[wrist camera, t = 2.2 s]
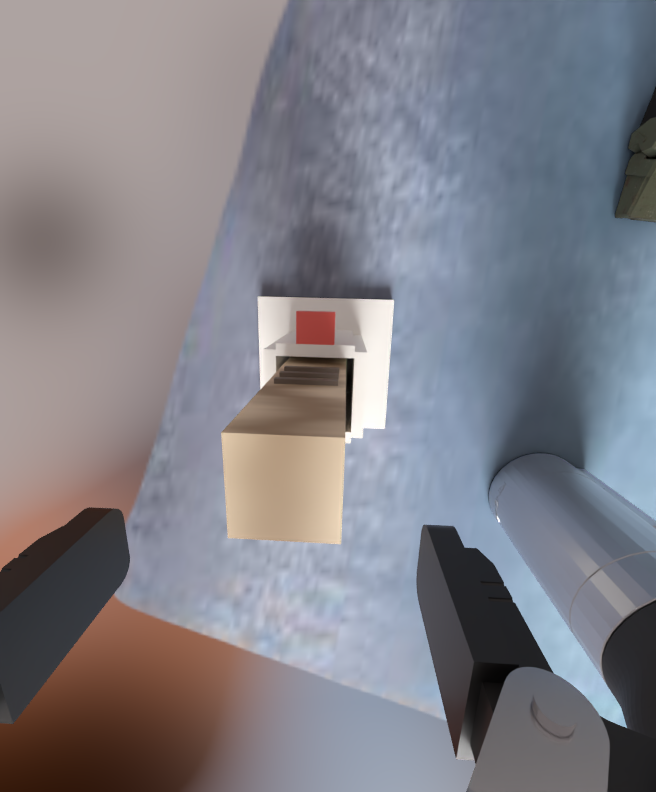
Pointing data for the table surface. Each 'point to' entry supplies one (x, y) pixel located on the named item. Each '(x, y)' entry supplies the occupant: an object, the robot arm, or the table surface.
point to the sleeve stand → (333, 347)
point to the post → (289, 455)
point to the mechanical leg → (641, 171)
